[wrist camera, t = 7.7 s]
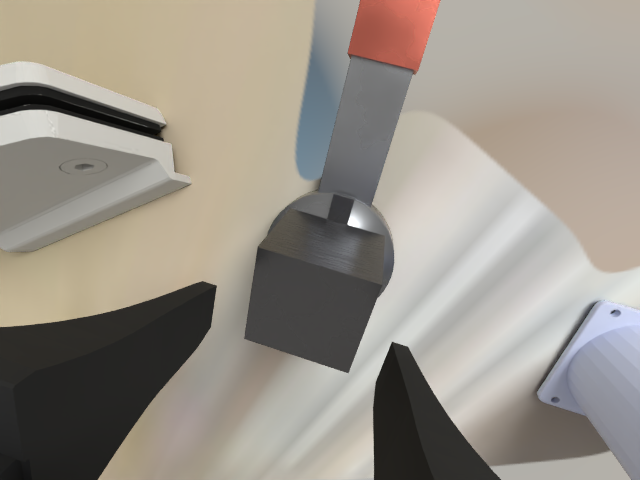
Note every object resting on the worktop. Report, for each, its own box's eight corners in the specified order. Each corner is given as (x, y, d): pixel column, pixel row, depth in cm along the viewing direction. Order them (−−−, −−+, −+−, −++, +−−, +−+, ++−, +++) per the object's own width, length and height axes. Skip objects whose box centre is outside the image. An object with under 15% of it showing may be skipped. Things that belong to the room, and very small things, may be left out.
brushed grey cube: (385, 235, 18) (382, 285, 14) (358, 311, 21) (348, 373, 16) (290, 208, 18) (258, 247, 14) (275, 285, 21) (244, 338, 17)
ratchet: (550, -175, 13) (629, -317, 9) (371, 316, 22) (369, 361, 18) (363, -208, 14) (355, -355, 10) (263, 283, 23) (237, 318, 19)
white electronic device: (30, 252, 26) (-194, 260, 17) (18, 197, 26) (-209, 174, 17) (196, 181, 21) (18, 136, 12) (179, 115, 22) (-8, 20, 12)
